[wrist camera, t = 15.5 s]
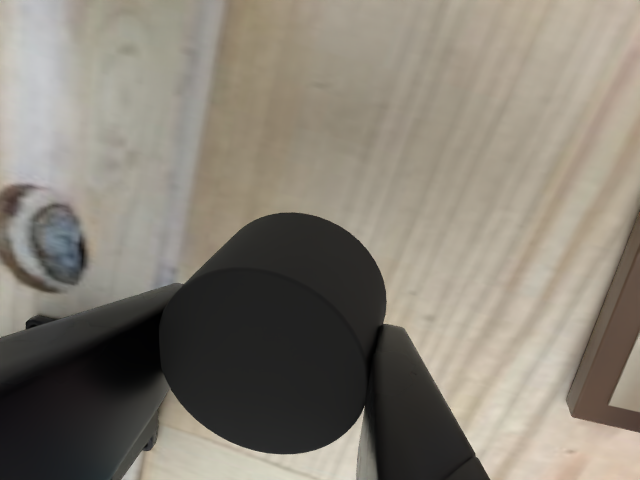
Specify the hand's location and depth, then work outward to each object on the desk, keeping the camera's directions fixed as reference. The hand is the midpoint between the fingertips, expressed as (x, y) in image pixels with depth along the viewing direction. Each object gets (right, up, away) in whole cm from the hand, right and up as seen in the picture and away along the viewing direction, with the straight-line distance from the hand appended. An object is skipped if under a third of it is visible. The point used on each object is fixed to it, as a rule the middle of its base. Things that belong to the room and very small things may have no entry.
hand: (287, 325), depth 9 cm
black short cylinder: (0, +1, +1) cm, 1 cm away
